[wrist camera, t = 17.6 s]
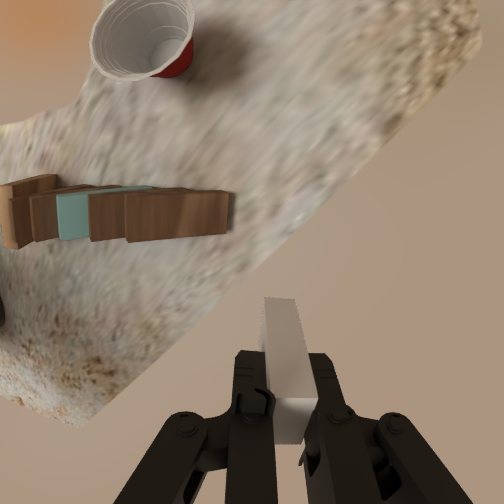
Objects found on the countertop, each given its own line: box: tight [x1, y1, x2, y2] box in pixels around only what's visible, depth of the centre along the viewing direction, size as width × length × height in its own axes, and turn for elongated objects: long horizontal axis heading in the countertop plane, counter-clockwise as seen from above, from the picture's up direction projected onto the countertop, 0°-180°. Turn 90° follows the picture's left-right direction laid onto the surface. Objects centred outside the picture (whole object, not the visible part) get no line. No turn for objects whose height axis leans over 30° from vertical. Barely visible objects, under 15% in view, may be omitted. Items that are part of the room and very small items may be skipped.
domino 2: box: [29, 185, 120, 242], centre depth 32 cm, size 2×5×12 cm
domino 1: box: [8, 184, 91, 243], centre depth 32 cm, size 2×5×12 cm, turn 174°
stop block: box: [0, 174, 57, 250], centre depth 32 cm, size 3×8×10 cm, turn 175°
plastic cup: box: [89, 0, 195, 81], centre depth 25 cm, size 11×11×12 cm
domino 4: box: [87, 188, 189, 242], centre depth 33 cm, size 2×5×12 cm
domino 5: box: [125, 190, 229, 243], centre depth 34 cm, size 2×5×12 cm
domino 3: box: [56, 186, 153, 241], centre depth 33 cm, size 2×5×12 cm
